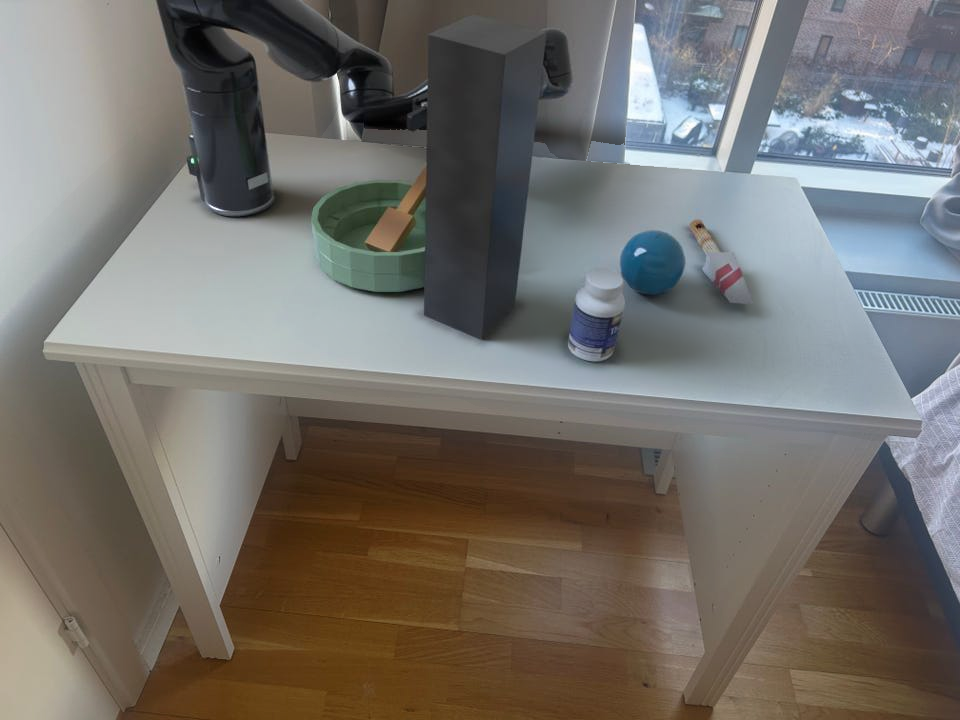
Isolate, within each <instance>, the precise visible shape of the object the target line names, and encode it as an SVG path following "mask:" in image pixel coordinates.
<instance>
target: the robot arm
mask: <svg viewBox="0 0 960 720" xmlns="http://www.w3.org/2000/svg"><path fill="white" fill-rule="evenodd" d="M155 3H156V7H157V11H158V15H159V19H160V22H161V26H162V30H163V33H164V38H165V42H166V46H167V50H168V52H169V55H170V58H171V59H172V62H173V63H174V65H175V66H176V68H177V70H178V71H179V75H180V80H181V85H182V89H183V94H184V99H185V105H186V108H187V114H188V118H189V123H190V128H191V133H190V134H189V135H188V142H189V147H190V152H191V155H189V156H187V157H186V163H187V169H188V173H189V175H191V176H194V177H195V178H196V179H197V180H196V181H197V185H198V186H197V187H198V191H199V196H200V200H203V201H204V202H205V206H206V208H207V209H208V210H209V211H211V212H213V213H215V214H217V215H221V216H225V217H247V216H252V215H256V214H258V213H262V212H263V211H265V210H267V209H268V208H270V207H271V206H273V204H274V203H275V191H274V189H273V182H272V173H271V165H270V159H269V158H270V157H269V150H268V142H267V136H266V129H265V121H264V114H263V106H262V100H261V99H262V98H261V91H260V85H259V77H258V70H257V63H256V60H255V57H254V55H253V53H251V51H249V50H248V49H247V48H246V47H245V46H243V45H241V44H240V43H239V42H237V41H236V40H235V39H233V38H232V37H231V35H229V34H228V32H227V31H226V30H232V31H235V32H238V33H241V34H242V33H243V34H245V35H248V36H250V37H252V38H255V39H257V40H259V41H261V44H262V48H263V49H264V52H265V54H266V55H267V57H268V59H270V60H271V61H272V63H274V64H275V65H276V66H278V67H279V68H280V69H282V70H284V71H285V72H287V73H289V74H291V75H293V76H294V77H296V78H298V79H300V80H302V81H304V82H309V83H319V82H324V81H326V80H329V79H331V78H333V77H334V76H335V75H337V74H338V75H337V76H338V85H339V99H340V100H339V102H340V111H341V115H342V117H343V118H344V120H346V121H347V122H349V123H355V124H381V123H388V122H391V121H395V120H398V119H402V118H406V127H407V128H406V129H407V131H409V132H412V133H413V132H416V131H418V130H419V129H421V128H422V127H423V126H427V90H428V78H427V79H425V80H424V81H423V82H422V83H420V84H419V85H418V86H416V87H414V88H413V89H412V90H410V91H407V92H404V93H403V94H400V95H396V96H395V83H394V71H393V68H392V64H391V63H390V61H389V60H388V58H386V57H385V56H384V55H382V54H381V53H379V52H377V51H375V50H373V49H371V48H370V47H368V46H366V45H364V44H362V43H360V42H359V41H356V40H355V39H353V38H352V37H351V36H350V35H348V34H346V33H345V32H343V31H342V30H340V29H339V28H337V27H336V26H335V25H334V24H333V23H332V22H330V20H329V19H327V18H326V17H324V16H323V15H322V14H320V13H319V11H317V10H315V9H314V8H313V7H311V6H309V5H308V4H307V3H305V2H304V1H302V0H155ZM539 31H543V32H546V41H545V50H544V59H543V67H542V76H541V85H540V93H539V101H540V100H556V99H560V98H563V97H565V96H566V95H567V94H568V93H570V91H571V89H572V86H573V81H574V77H573V76H574V75H573V70H572V69H573V67H572V59H571V50H570V41H569V37H568V35H567V33H565V32H564V31H563V30H561V29H559V28H556V27H546V28H543V29H540V30H539Z"/></svg>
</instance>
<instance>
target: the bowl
mask: <svg viewBox="0 0 960 720" xmlns="http://www.w3.org/2000/svg"><path fill="white" fill-rule="evenodd" d="M414 182H415V181H414ZM414 182H413V181H407V180H401V179H371V180H365V181H357V182H353V183H350V184H346V185H343V186H341V187H337V188H335V189H334V190H332V191H330V192H329V193H326V194H325V195H324V196H322V197H321V198H320V199H319V200H318V202H317V203H316V204H315V205H314V206H313V208H312V213H311V219H310V223H311V225H310V226H311V234H312V243H313V245H312V246H313V255H314V257H315V260H316V262H317V264H318V266H319V269H321V271H323V272H324V273H325V274H326V275H328V276H329V277H330V278H331V279H332V280H334V281H336V282H339V283H341V284H343V285H345V286H348V287H351V288H353V289H359V290H364V291H370V292H374V293H375V292H376V293H396V292H397V293H400V292H401V293H402V292H406V291H412V290H416V289H422V288H424V280H425V217H426V196H425V198H424V199H423V201H422V202H421V204H420V205H419V207H418V208H417V210H416V211H415V213H414V214H413V216H414V218H415V220H416V224H415V226H414V228H413V229H412V231H411V232H410V234H409V235H408V237H407V238H406V240H405V241H404V243H403V244H402V246H401V247H400V249H399V250H398V252H375V251H373V250H370V249H368V247H367V245H366V244H365V241H366V239H367V238H368V236H369V235H370V233H371V232H372V230H373V229H374V227H375V226H376V224H377V223H378V221H379V220H380V218H381V217H382V216H383V214H384V213H385V211H386V210H387V208H388V207H391V208H394V209H397V208H398V206H399V205H400V203H401V202H402V200H403V199H404V197H405V196H406V194H407V193H408V191H409V190H410V188H411V187H412V185H413V184H414Z"/></svg>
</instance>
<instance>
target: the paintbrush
mask: <svg viewBox="0 0 960 720" xmlns="http://www.w3.org/2000/svg"><path fill="white" fill-rule="evenodd" d="M689 228H690V231H691V232H692V234H693V235H694V237H695V239H696V240H697V242H698V244H699V245H700V247H701V249H702V250H703V252H704V254H705V263H704V265H703V267H702V269H701V271H702V272H703V273H704V274H705V275H706V276H707V278H709V279H710V281H711V282H712V283H713V285H714V286H716V288H717V289H718V290H719V291H720V292H721V294H722V295H723V296H724V297H725V298H726V299H727V300H728V302H729V303H731V304H753V300H752V297H751V294H750V292H749V288H748V286H747V284H746V281H745V277H744V275H743V273H742V269H741V266H740V264H739V262H738V259H737V256H736V253H735V252H728V251H727V252H725V251H724V252H723V251H722V252H721V250H720V249H719V247H718V245H717V244H716V242H715V241H714V239H713V238H712V235H710V232H709V231H708V229H707V228H706V225H705V224H704V223H703V221H702V219H699V218H695V219H693V220H691V222H690V223H689Z"/></svg>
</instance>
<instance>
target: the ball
mask: <svg viewBox="0 0 960 720" xmlns="http://www.w3.org/2000/svg"><path fill="white" fill-rule="evenodd" d="M620 253H621V254H620V257H619V267H620V273H621V274H620V275H621V276H622V278H623V281H625V282H626V284H627V285H628V286H629V288H631V289H633V290H634V291H636V292H638V293H639V294H643V295H647V296H648V295H650V296H654V295H660V294H663V293H666V292H668V291H669V290H671V289H673V288H674V287H675V286H676V285H677V284H678V282H679V281H681V280H680V279H681V278H682V277H683V274H684V272H685V269H686V256H685V252H684V249H683V246H682V245H681V243H680V241H678V240H677V239H676V237H674V236H673V235H672V234H670V233H668V232H665V231H662V230H657V229H650V230H645V231H642V232H640V233H637V234H636V235H633V237H632V236H631V238H630V239H629V240H628V242H626V244H625V245H624V247H623V249H622V250H621V252H620Z"/></svg>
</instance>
